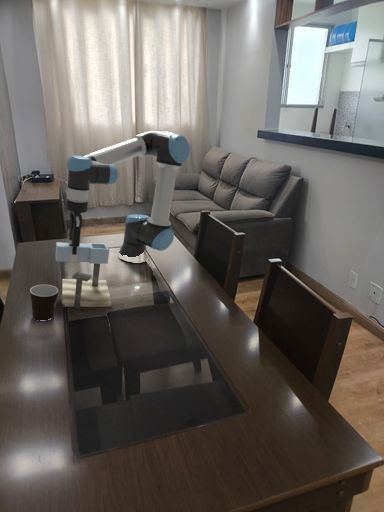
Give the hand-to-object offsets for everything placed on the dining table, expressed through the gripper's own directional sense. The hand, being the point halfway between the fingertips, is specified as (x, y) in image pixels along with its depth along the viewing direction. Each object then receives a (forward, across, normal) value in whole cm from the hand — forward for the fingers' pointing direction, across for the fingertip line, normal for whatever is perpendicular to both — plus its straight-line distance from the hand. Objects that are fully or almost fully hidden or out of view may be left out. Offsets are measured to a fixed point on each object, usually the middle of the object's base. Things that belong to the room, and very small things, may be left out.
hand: (72, 258), depth 139 cm
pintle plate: (+13, +5, +5) cm, 15 cm away
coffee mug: (+13, +19, -10) cm, 25 cm away
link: (0, 0, +4) cm, 4 cm away
